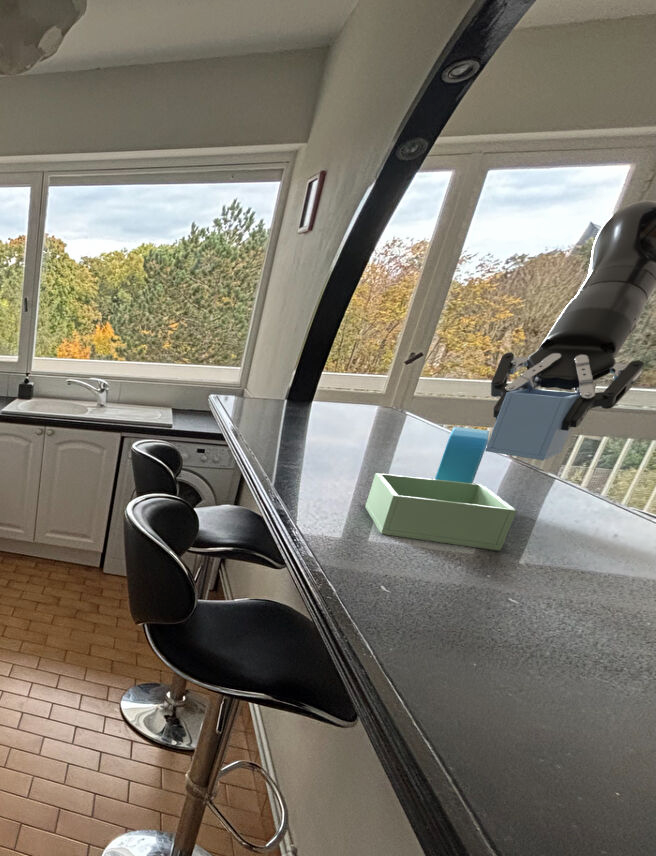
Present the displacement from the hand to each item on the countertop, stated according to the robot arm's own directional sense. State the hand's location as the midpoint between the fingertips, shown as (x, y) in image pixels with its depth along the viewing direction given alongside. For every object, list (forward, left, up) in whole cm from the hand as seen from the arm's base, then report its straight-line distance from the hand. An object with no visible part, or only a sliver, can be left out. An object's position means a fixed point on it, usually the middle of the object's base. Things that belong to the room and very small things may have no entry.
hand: (531, 421), depth 78 cm
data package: (+1, -15, -16) cm, 22 cm away
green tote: (+7, 0, -16) cm, 18 cm away
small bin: (-1, -1, -4) cm, 5 cm away
